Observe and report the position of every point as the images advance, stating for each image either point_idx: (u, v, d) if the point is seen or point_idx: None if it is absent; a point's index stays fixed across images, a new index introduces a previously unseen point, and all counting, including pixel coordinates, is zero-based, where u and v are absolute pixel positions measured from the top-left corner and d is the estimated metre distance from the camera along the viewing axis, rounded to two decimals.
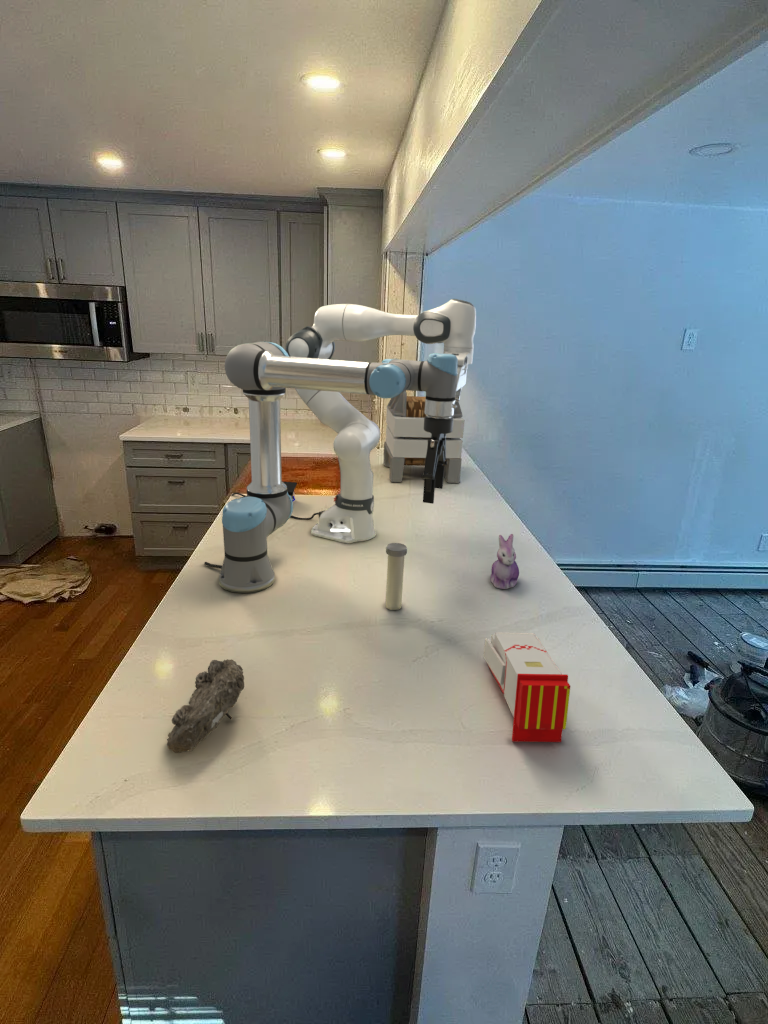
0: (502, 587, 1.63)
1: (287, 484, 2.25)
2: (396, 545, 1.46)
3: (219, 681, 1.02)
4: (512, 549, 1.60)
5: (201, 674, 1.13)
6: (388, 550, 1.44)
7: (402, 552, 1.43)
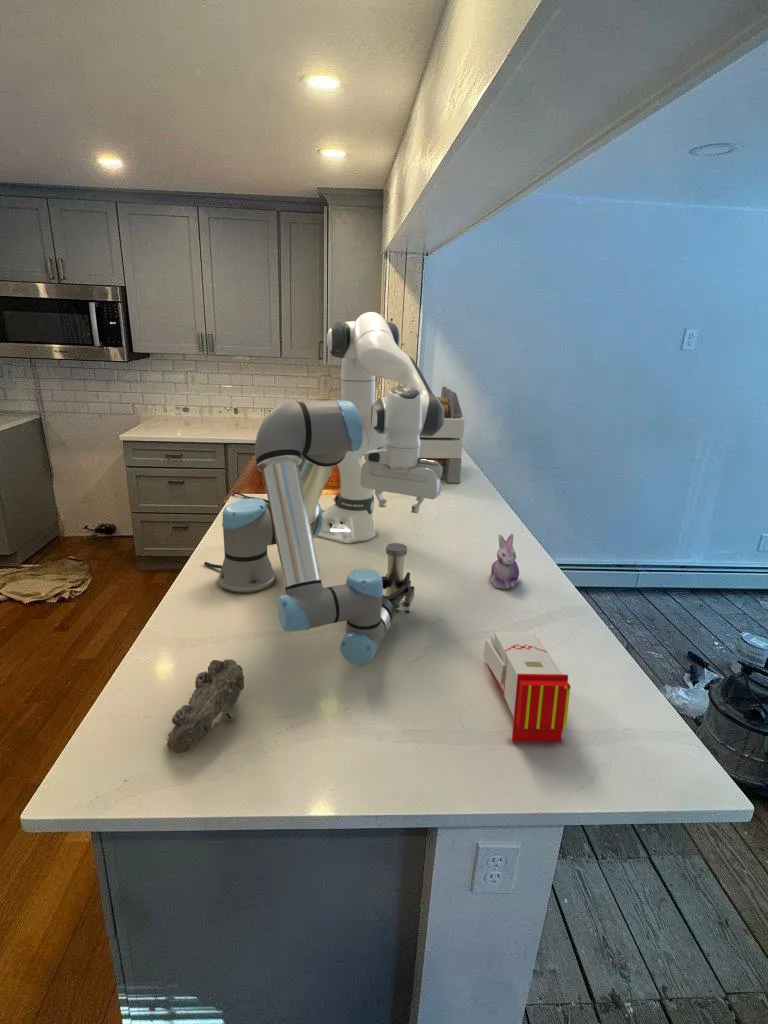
0: (502, 587, 1.63)
1: None
2: (396, 545, 1.46)
3: (219, 681, 1.02)
4: (512, 549, 1.60)
5: (201, 674, 1.13)
6: (388, 550, 1.44)
7: (402, 552, 1.43)
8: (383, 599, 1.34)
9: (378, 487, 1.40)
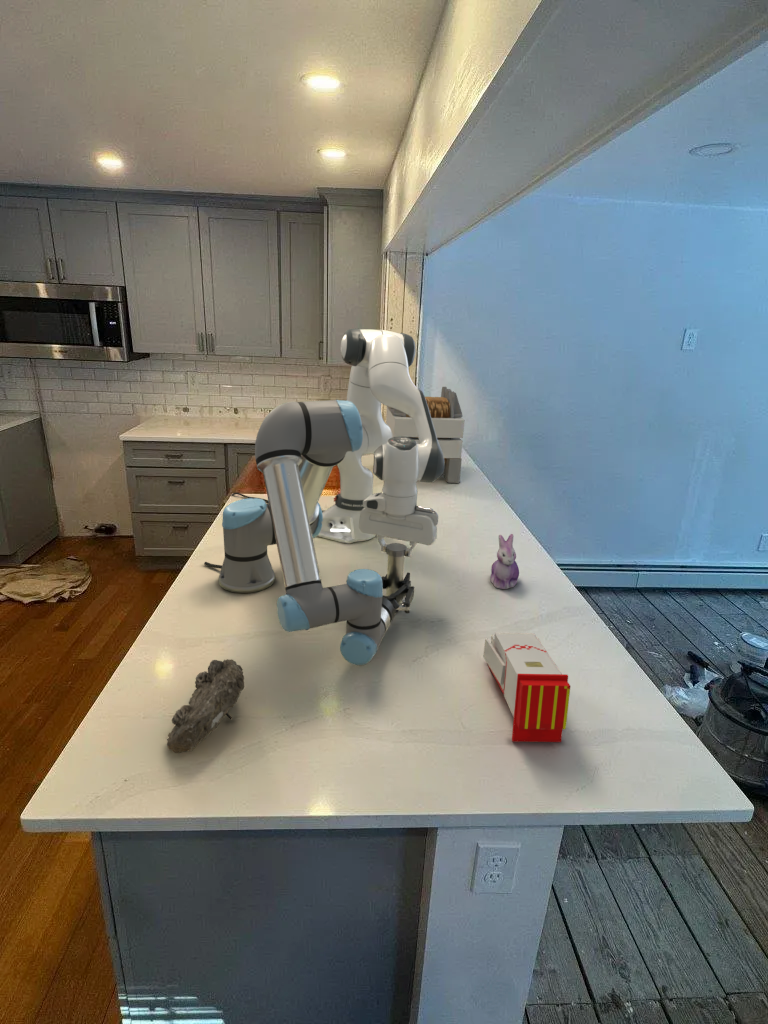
0: (502, 587, 1.63)
1: None
2: (396, 545, 1.46)
3: (219, 681, 1.02)
4: (512, 549, 1.60)
5: (201, 674, 1.13)
6: (388, 550, 1.44)
7: (402, 552, 1.43)
8: (383, 599, 1.33)
9: (376, 532, 1.44)
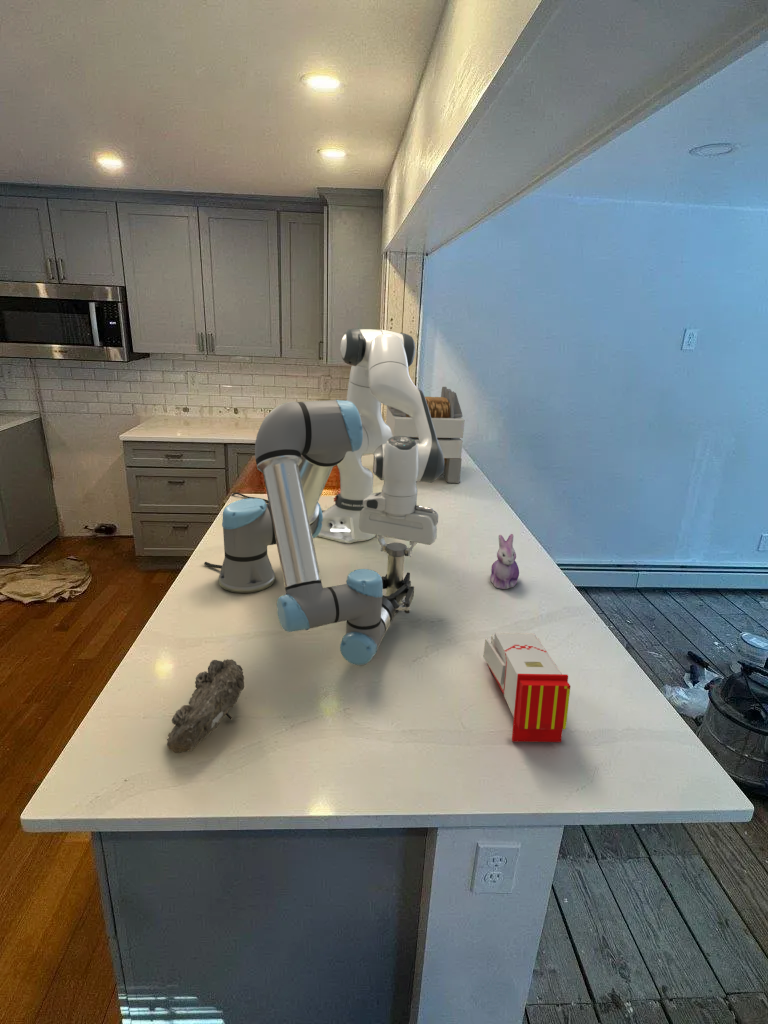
0: (502, 587, 1.63)
1: None
2: (392, 546, 1.45)
3: (219, 681, 1.02)
4: (512, 549, 1.60)
5: (201, 674, 1.13)
6: (403, 551, 1.44)
7: None
8: (383, 599, 1.33)
9: (376, 532, 1.44)
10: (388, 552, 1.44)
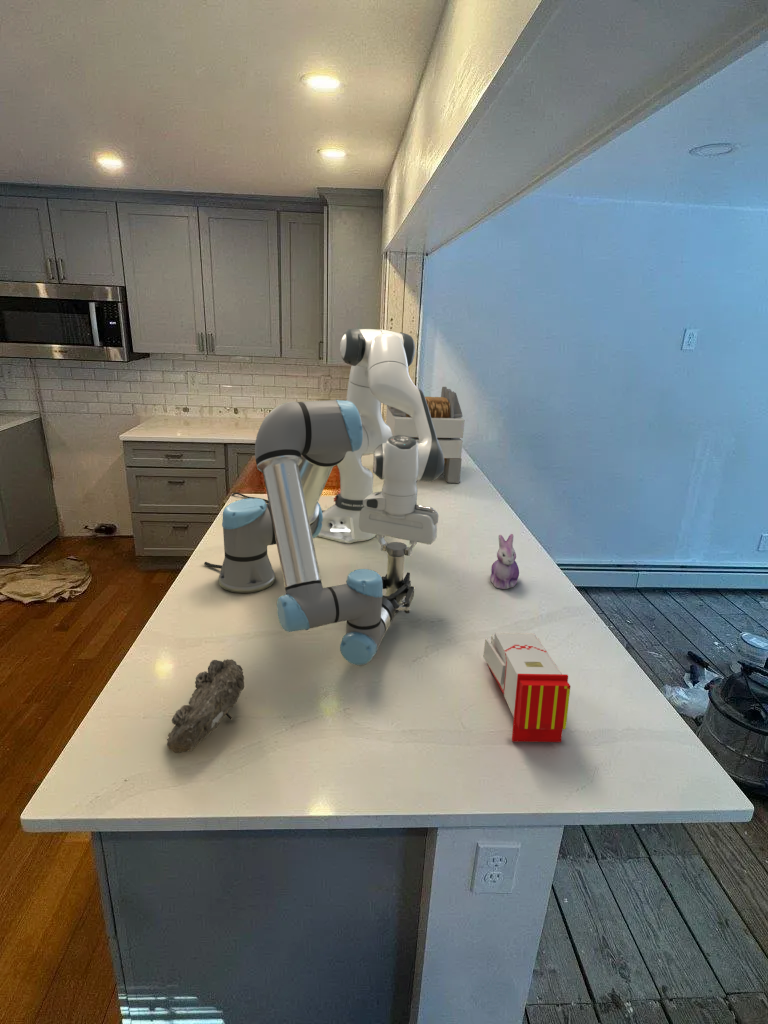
0: (502, 587, 1.63)
1: None
2: (397, 547, 1.44)
3: (219, 681, 1.02)
4: (512, 549, 1.60)
5: (201, 674, 1.13)
6: None
7: None
8: (383, 599, 1.33)
9: (376, 531, 1.44)
10: (403, 553, 1.44)
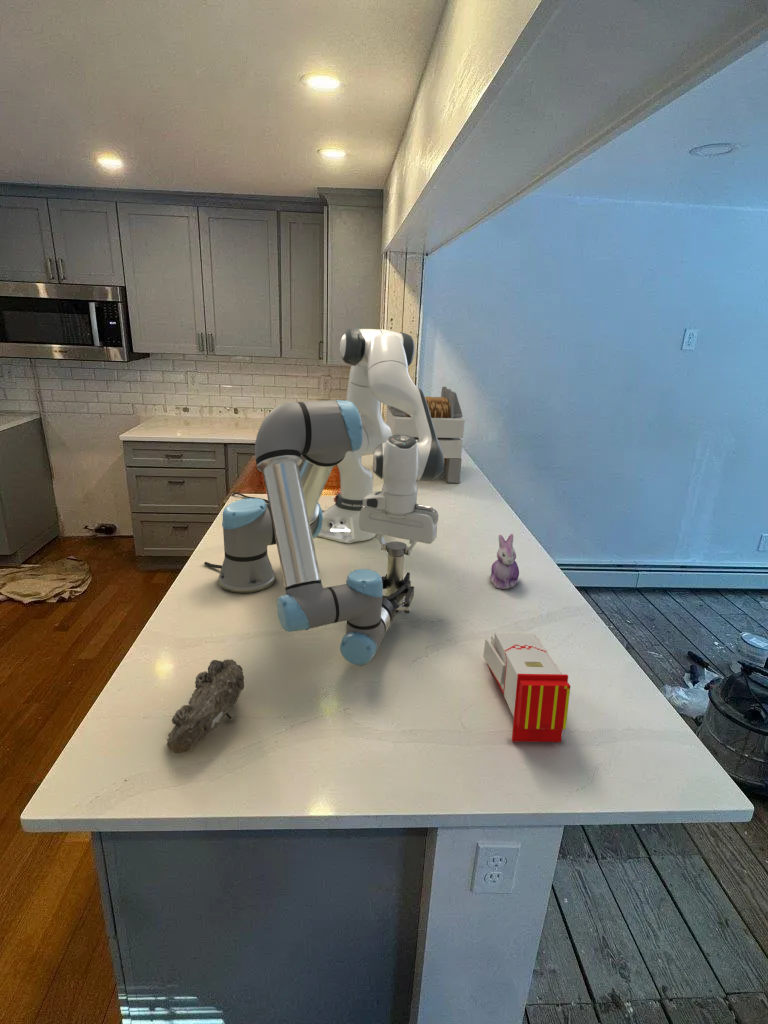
0: (502, 587, 1.63)
1: None
2: (400, 545, 1.45)
3: (219, 681, 1.02)
4: (512, 549, 1.60)
5: (201, 674, 1.13)
6: None
7: (388, 549, 1.44)
8: (383, 599, 1.33)
9: (376, 531, 1.44)
10: None
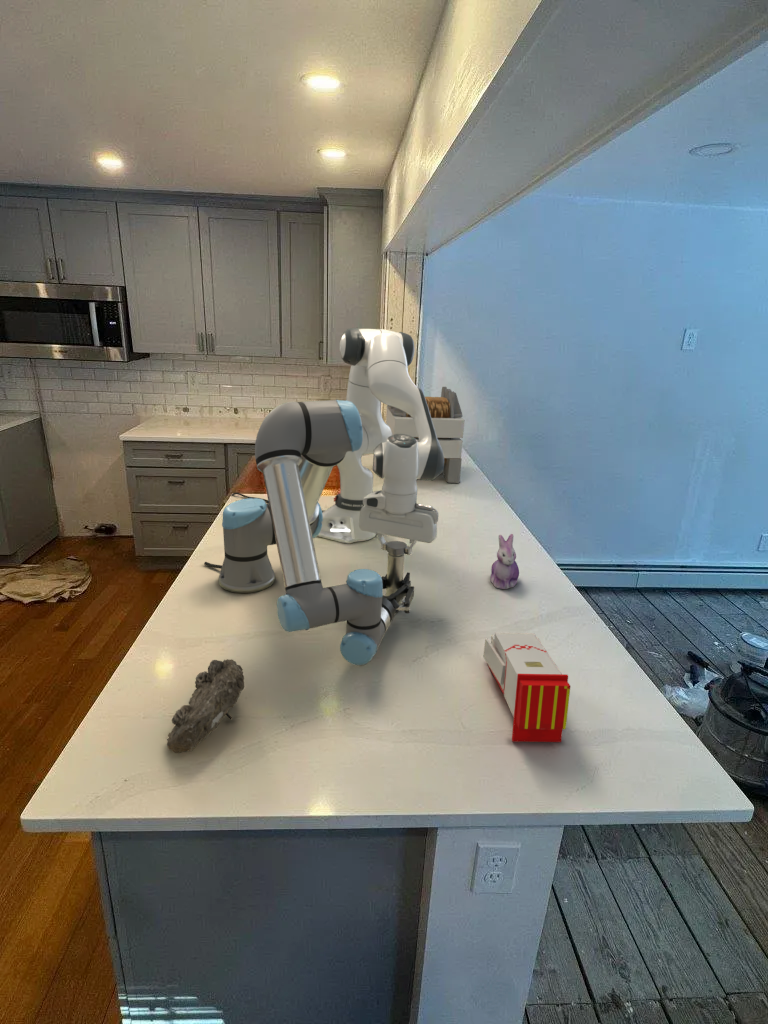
0: (502, 587, 1.63)
1: None
2: (395, 543, 1.46)
3: (219, 681, 1.02)
4: (512, 549, 1.60)
5: (201, 674, 1.13)
6: (389, 548, 1.44)
7: (403, 549, 1.43)
8: (383, 599, 1.33)
9: (376, 530, 1.44)
10: None
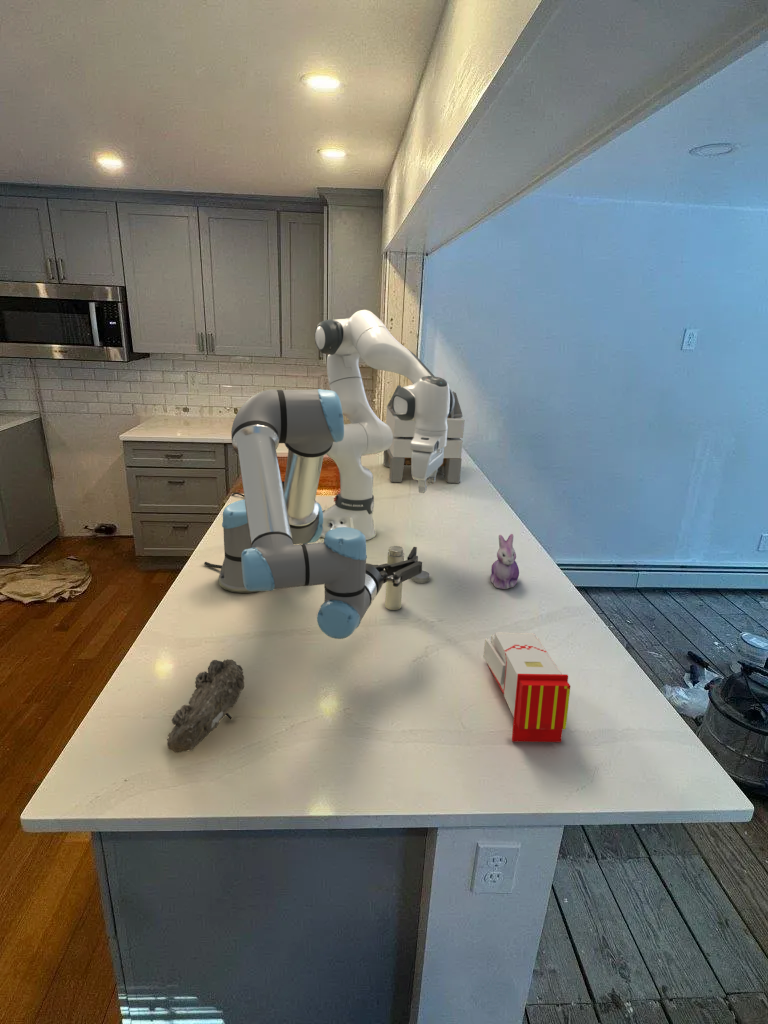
0: (502, 587, 1.63)
1: None
2: (422, 575, 1.66)
3: (219, 681, 1.02)
4: (512, 549, 1.60)
5: (201, 674, 1.13)
6: None
7: None
8: (369, 566, 1.17)
9: (429, 473, 1.51)
10: (427, 580, 1.65)
